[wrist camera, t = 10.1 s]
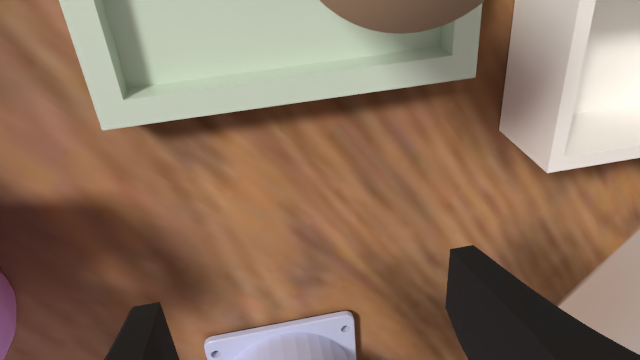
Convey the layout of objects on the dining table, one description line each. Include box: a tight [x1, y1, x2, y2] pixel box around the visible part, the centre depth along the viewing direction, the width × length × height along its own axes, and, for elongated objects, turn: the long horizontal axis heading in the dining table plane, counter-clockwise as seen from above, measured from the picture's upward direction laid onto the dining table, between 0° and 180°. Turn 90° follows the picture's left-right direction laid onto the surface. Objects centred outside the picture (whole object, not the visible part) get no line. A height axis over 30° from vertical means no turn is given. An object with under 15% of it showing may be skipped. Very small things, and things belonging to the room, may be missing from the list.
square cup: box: [499, 0, 640, 173], centre depth 20 cm, size 7×7×4 cm
